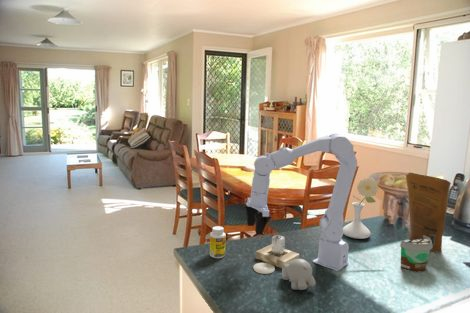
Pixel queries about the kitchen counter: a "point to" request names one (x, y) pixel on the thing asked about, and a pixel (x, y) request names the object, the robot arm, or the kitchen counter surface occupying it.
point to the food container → (415, 254)
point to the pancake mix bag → (427, 207)
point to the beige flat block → (266, 256)
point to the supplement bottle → (217, 242)
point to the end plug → (278, 245)
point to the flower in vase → (356, 227)
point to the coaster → (264, 268)
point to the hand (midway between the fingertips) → (254, 229)
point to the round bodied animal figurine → (298, 274)
